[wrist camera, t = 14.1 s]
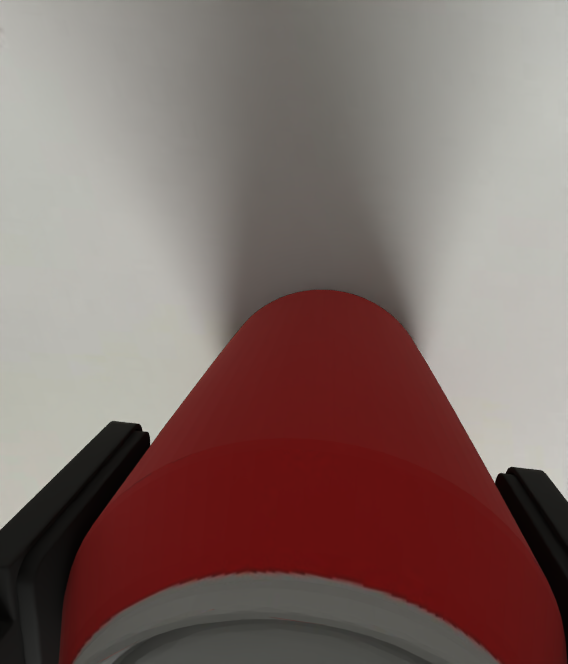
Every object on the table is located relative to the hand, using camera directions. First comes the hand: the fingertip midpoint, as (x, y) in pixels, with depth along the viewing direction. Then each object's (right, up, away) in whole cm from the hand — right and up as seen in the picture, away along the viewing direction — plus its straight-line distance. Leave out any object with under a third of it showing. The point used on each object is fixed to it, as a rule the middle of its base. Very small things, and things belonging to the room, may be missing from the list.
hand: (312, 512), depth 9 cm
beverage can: (+1, +2, +7) cm, 7 cm away
